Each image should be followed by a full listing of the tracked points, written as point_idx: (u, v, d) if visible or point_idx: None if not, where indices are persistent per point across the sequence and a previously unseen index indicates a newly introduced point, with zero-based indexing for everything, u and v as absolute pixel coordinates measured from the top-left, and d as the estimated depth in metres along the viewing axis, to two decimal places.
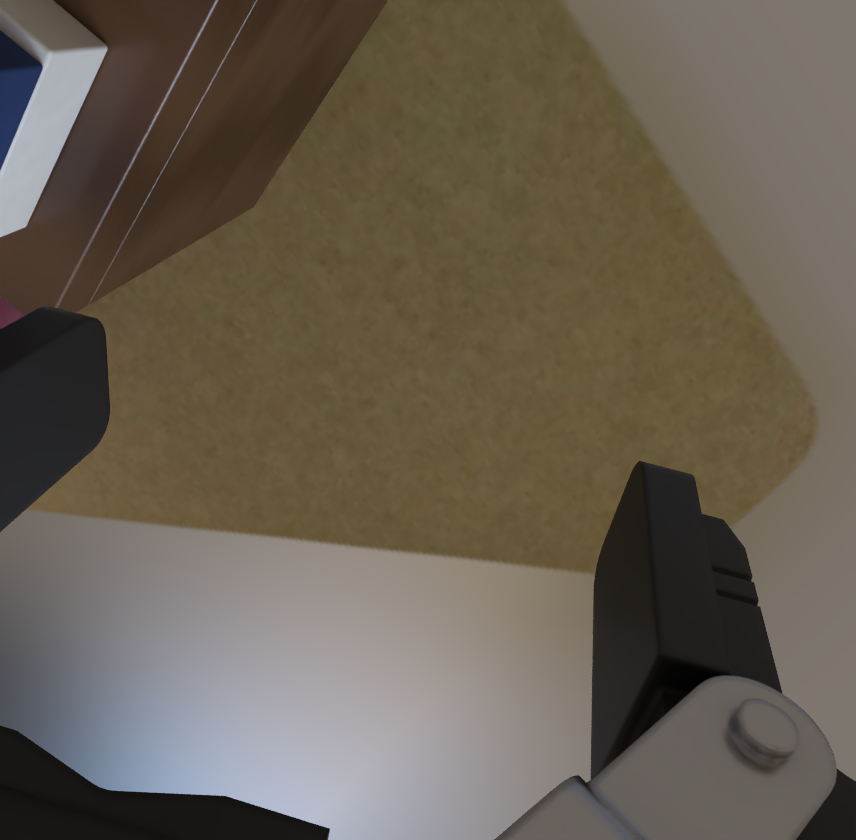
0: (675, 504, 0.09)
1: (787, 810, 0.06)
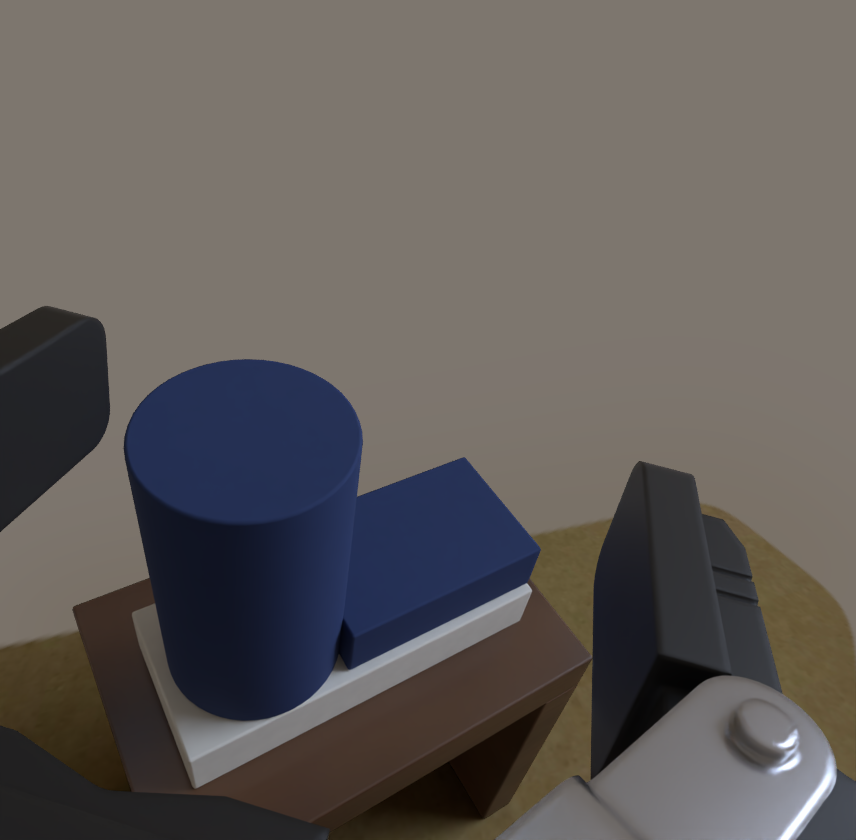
0: (675, 504, 0.09)
1: (787, 810, 0.06)
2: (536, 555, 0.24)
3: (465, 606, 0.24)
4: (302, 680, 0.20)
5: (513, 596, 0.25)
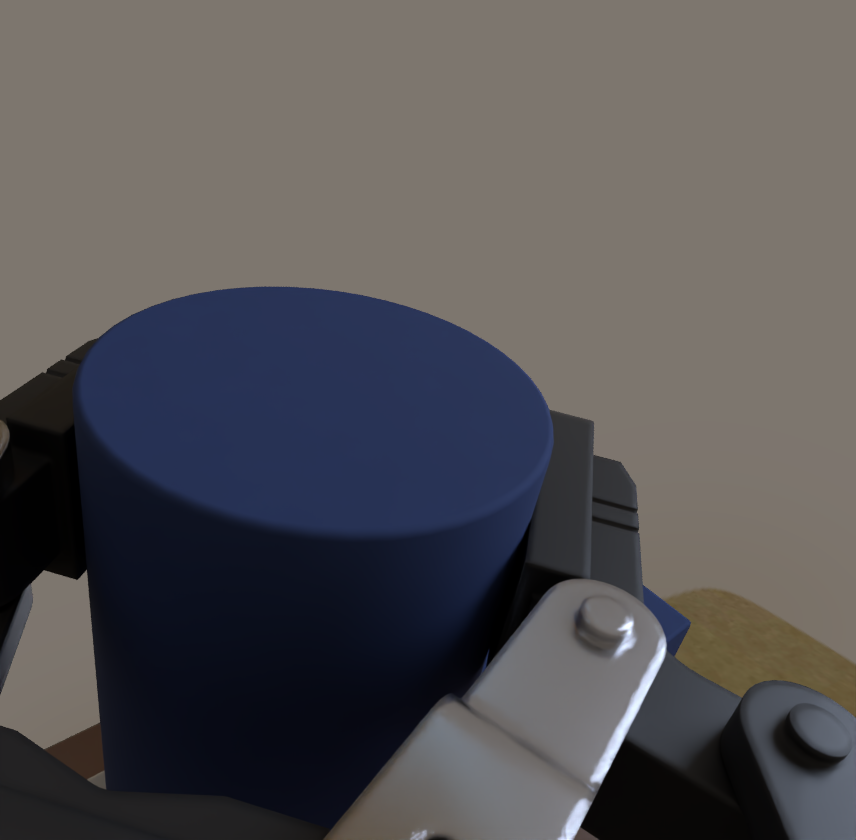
0: (570, 444, 0.10)
1: (611, 682, 0.06)
2: (685, 632, 0.16)
3: None
4: None
5: None
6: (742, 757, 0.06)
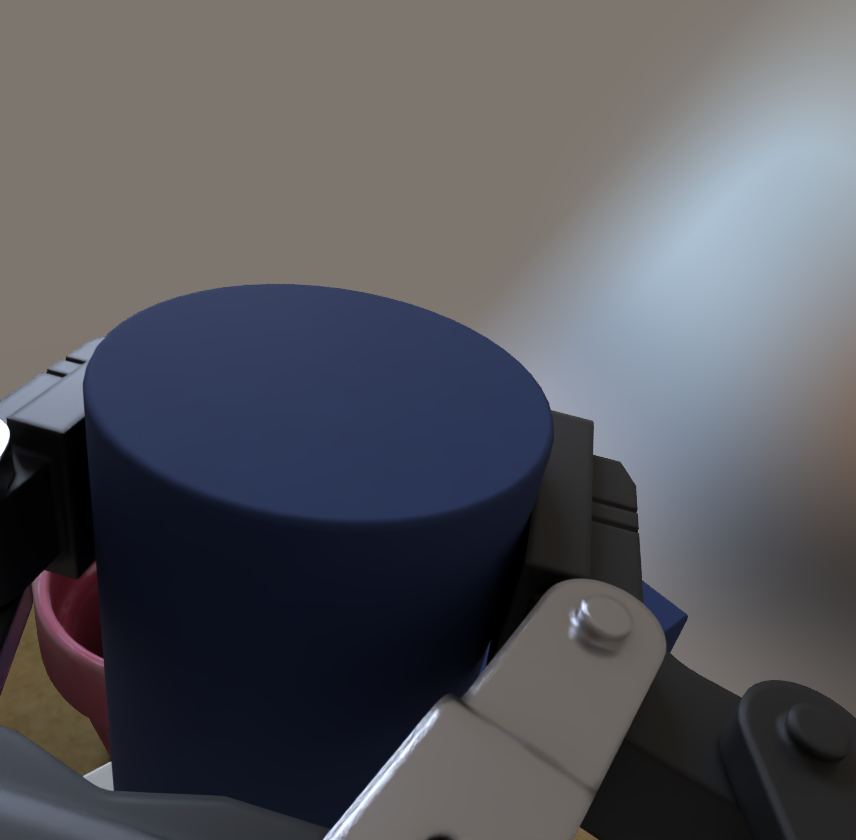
0: (570, 444, 0.10)
1: (611, 681, 0.06)
2: (682, 626, 0.16)
3: None
4: None
5: None
6: (742, 757, 0.06)
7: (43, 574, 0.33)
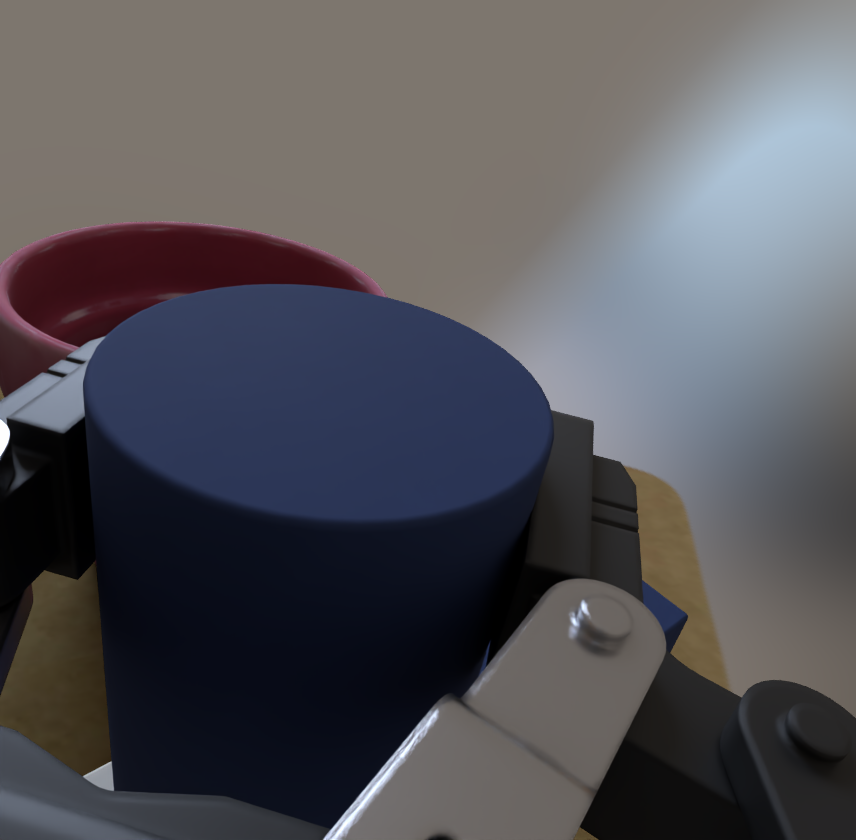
0: (570, 444, 0.10)
1: (612, 682, 0.06)
2: (682, 625, 0.16)
3: None
4: None
5: None
6: (742, 756, 0.06)
7: (1, 274, 0.25)
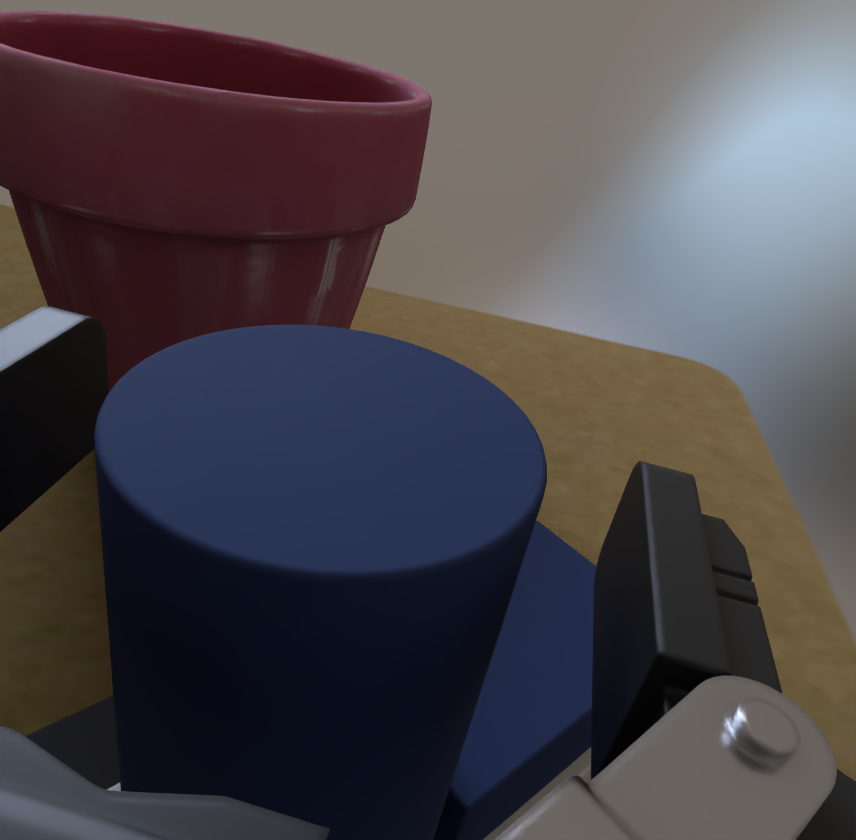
0: (675, 504, 0.09)
1: (787, 810, 0.06)
2: None
3: None
4: None
5: None
6: None
7: None
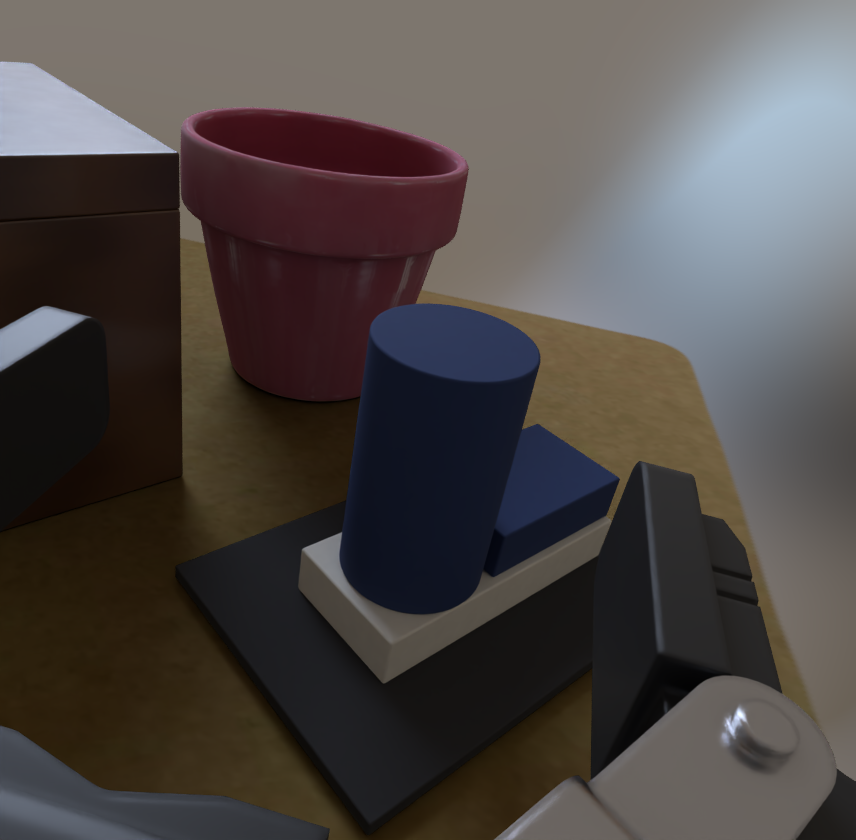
0: (675, 504, 0.09)
1: (787, 810, 0.06)
2: (616, 484, 0.30)
3: (569, 528, 0.29)
4: (473, 570, 0.25)
5: (599, 524, 0.31)
6: None
7: (189, 125, 0.35)
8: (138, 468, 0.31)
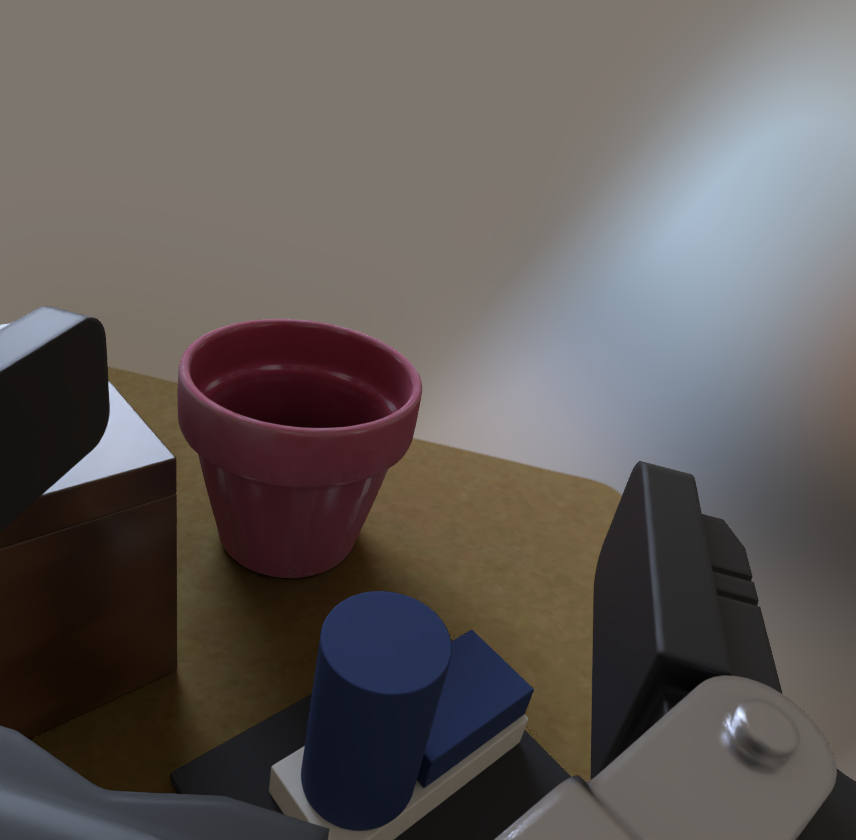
0: (675, 504, 0.09)
1: (787, 810, 0.06)
2: (531, 693, 0.37)
3: (490, 735, 0.36)
4: (404, 795, 0.32)
5: (517, 724, 0.37)
6: None
7: (185, 367, 0.41)
8: (140, 672, 0.38)
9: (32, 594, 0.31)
